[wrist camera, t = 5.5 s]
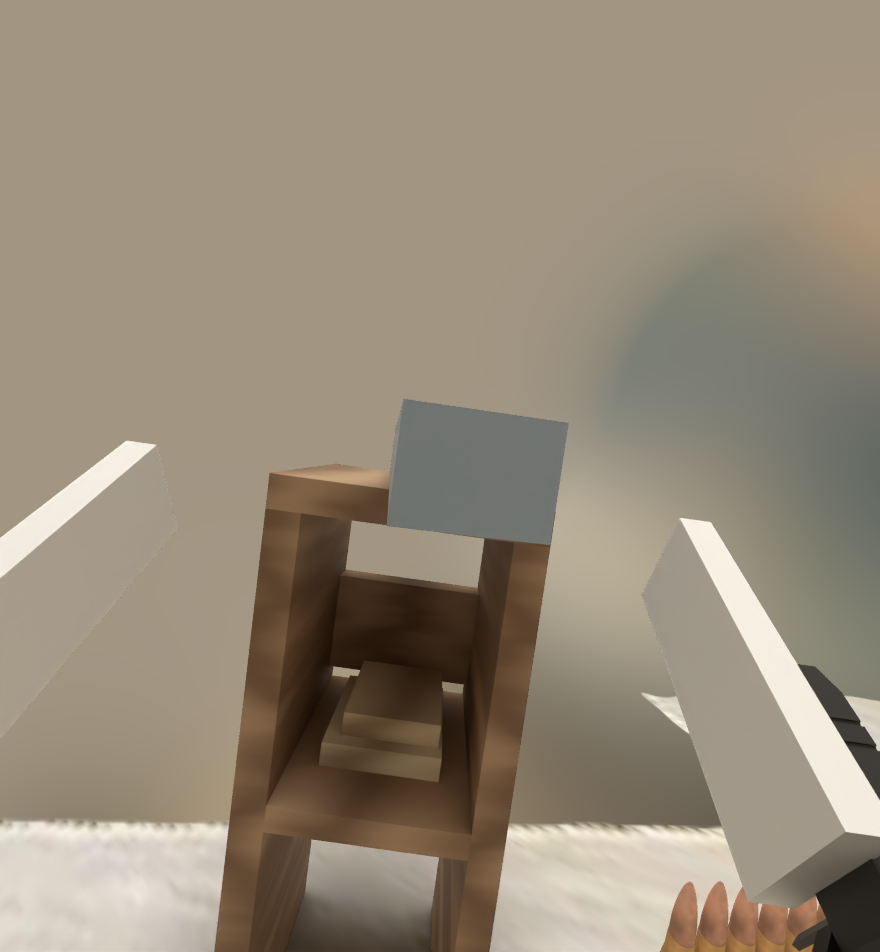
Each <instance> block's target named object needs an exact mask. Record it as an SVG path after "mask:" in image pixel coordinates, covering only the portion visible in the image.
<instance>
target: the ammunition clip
mask: <svg viewBox="0 0 880 952" xmlns="http://www.w3.org/2000/svg"><path fill="white" fill-rule="evenodd" d="M697 916H698V914H697V899H696V893H695V889H694V886H693V884H692V883H691V882H688V883H686V884H685V885H684V887H683V888H682V889H681V891H680V893H679V895H678V897H677V899H676V902H675V905H674V908H673V911H672V914H671V919H670V924H669V927H668V930H667V935H666V939H665V942H664V944H663V946H662V949H661V951H660V952H812V949H813V945H814V944H812V945H810V946H809V947H807V948H805V949H803V950H801V951H798V950H797V949H796V948H795V947H794V946H793V945H792V943H793V942H794V940H795V938H796V937H797V935H798V934H799V933H801V932H803V931H805V930H806V929H808V928H810V927H812V926H814V925H815V924H817V923H819V922H821V921H822V920H824V919H826V917H825V915H824V913H823V910H822V908H821V906H820V904H819V907H818V911H817V902H816V896H815V897H813V898H811V899H810V900H808V901H807V902H805V903H803V904H802V905H800V906H799V907H797V908H796V909H794V908H790V910H789V915H788V908H787V907H780V906H774V905H767V904H763V905H762V908H761V912H760V916H759V921H758V903H754V902H748V900H747V897H746V894H745V891H744V888H743V887H742V889H741V890H740V892H739V894H738V896H737V898H736V900H735V903H734V906H733V909H732V912H731V917H730V922H729V924H728V902H727V895H726V890H725V887H724V884H723V883H722V882H721V881H720V882H718V883H716V884H715V885H714V887H713V888H712V890H711V891H710V893H709V895H708V897H707V899H706V902H705V905H704V908H703V911H702V915H701V920H700V925H699V927H698V930H697ZM787 917H788V920H787ZM696 931H697V935H696ZM695 938H696V939H695Z"/></svg>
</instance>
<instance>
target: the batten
mask: <svg viewBox="0 0 880 952" xmlns="http://www.w3.org/2000/svg"><path fill="white" fill-rule="evenodd" d="M567 430H568V423H565V422H558V421H551V420H544V419H537V418H531V417H523V416H517V415H510V414H503V413H497V412H489V411H483V410H476V409H469V408H462V407H456V406H449V405H442V404H435V403H428V402H420V401H414V400H408V399H403V403H402V406H401V410H400V414H399V418H398V421H397V425H396V429H395V438H394V445H393V453H392V460H391V468H390V484H389V500H388V517H387V526H391V527H399V528H408V529H416V530H425V531H433V532H442V533H451V534H459V535H468V536H476V537H485V538H493V539H502V540H510V541H519V542H528V543H536V544H545V545H550V543H551V536H552V529H553V523H554V516H555V510H556V503H557V496H558V490H559V483H560V476H561V470H562V463H563V456H564V450H565V443H566V437H567Z"/></svg>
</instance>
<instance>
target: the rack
mask: <svg viewBox="0 0 880 952" xmlns="http://www.w3.org/2000/svg"><path fill="white" fill-rule="evenodd" d="M389 484H390V471H384V470H377V469H369V468H362V467H355V466H347V465H340V464H332V465H325V466H317V467H310V468H303V469H296V470H288V471H281V472H273V473H270V475H269V484H268V493H267V501H266V510H265V518H264V528H263V536H262V544H261V553H260V562H259V571H258V580H257V588H256V596H255V605H254V614H253V622H252V631H251V640H250V649H249V657H248V666H247V675H246V683H245V692H244V701H243V709H242V718H241V726H240V735H239V744H238V753H237V761H236V770H235V779H234V787H233V796H232V805H231V813H230V822H229V830H228V839H227V848H226V856H225V865H224V874H223V882H222V891H221V900H220V908H219V917H218V926H217V934H216V943H215V952H285V951H286V948H287V944H288V941H289V938H290V935H291V932H292V929H293V926H294V923H295V920H296V916H297V913H298V910H299V907H300V904H301V901H302V898H303V895H304V892H305V886H306V878H307V871H308V863H309V855H310V847H311V839H314V840H321V841H328V842H335V843H342V844H349V845H356V846H363V847H370V848H377V849H384V850H391V851H398V852H405V853H413V854H420V855H427V856H434V857H439V862H438V869H437V876H436V883H435V890H434V897H433V904H432V922H431V952H489V949H490V943H491V936H492V930H493V923H494V916H495V910H496V903H497V896H498V890H499V883H500V877H501V870H502V863H503V857H504V850H505V843H506V837H507V830H508V824H509V817H510V809H511V804H512V797H513V790H514V784H515V776H516V770H517V764H518V757H519V750H520V744H521V737H522V731H523V724H524V717H525V711H526V703H527V698H528V691H529V684H530V677H531V671H532V664H533V657H534V651H535V645H536V638H537V631H538V625H539V618H540V612H541V605H542V598H543V591H544V585H545V578H546V572H547V565H548V558H549V551H550V545H551V543H550V545H545V544H536V543H528V542H519V541H510V540H502V539H493V538H485V537H477V538H484V539H485V540H484V547H483V554H482V562H481V568H480V576H479V582H478V588H474V587H467V586H460V585H452V584H445V583H437V582H431V581H424V580H416V579H409V578H402V577H395V576H387V575H380V574H373V573H365V572H358V571H351V570H345V569H346V561H347V553H348V545H349V537H350V529H351V521H352V520H354V521H360V522H368V523H375V524H382V525H387V517H388V500H389ZM554 519H555V516H554ZM553 525H554V523H553ZM552 532H553V529H552ZM441 533H442V532H441ZM448 534H451V533H448ZM455 535H459V534H455ZM463 536H468V535H463ZM470 537H476V536H470ZM551 539H552V536H551ZM333 666H335V667H342V668H350V669H357V670H360V673H359V675H358V676H350V677H349V678H346V677H339V676H332V672H333ZM442 681H443V682H450V683H457V684H464V687H463V694H461V693H453V692H447V691H443V688H442Z"/></svg>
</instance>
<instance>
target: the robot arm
mask: <svg viewBox="0 0 880 952" xmlns="http://www.w3.org/2000/svg"><path fill="white" fill-rule="evenodd" d="M177 530H178V526H177V523H176V519H175V515H174V511H173V508H172V504H171V499H170V495H169V492H168V487H167V484H166V480H165V476H164V472H163V468H162V464H161V460H160V456H159V453H158V449H157V445H152V444H146V443H138V442H131V441H126V442H124V443H123V444H122V445H121V446H119V447H118V448H117V449H115V450H114V451H113V452H111V453H110V454H109V455H108V456H106V457H105V458H104V459H102V460H101V461H100V462H98V463H97V464H96V465H95V466H93V467H92V468H91V469H89V470H88V471H87V472H85V473H84V474H83V475H82V476H80V477H79V478H78V479H76V480H75V481H74V482H72V483H71V484H70V485H69V486H67V487H66V488H65V489H63V490H62V491H61V492H59V493H58V494H57V495H56V496H54V497H53V498H52V499H51V500H49V501H48V502H46V503H45V504H44V505H43V506H41V507H40V508H39V509H37V510H36V511H35V512H33V513H32V514H31V515H30V516H28V517H27V518H26V519H25V520H23V521H22V522H20V523H19V524H18V525H17V526H16V527H14V528H13V529H11V530H10V531H9V532H8V533H6V534H5V535H4V536H2V537H1V538H0V739H1V737H2V736H3V735H4V734H5V733H6V732H7V730H8V729H9V728H10V727H11V726H12V724H13V723H14V722H15V721H16V720H17V719H18V717H19V716H20V715H21V714H22V713H23V712H24V710H25V709H26V708H27V707H28V706H29V704H30V703H31V702H32V701H33V700H34V699H35V697H36V696H37V695H38V694H39V693H40V692H41V690H42V689H43V688H44V687H45V686H46V684H47V683H48V682H49V681H50V680H51V679H52V677H53V676H54V675H55V674H56V672H58V670H59V669H60V668H61V667H62V666H63V664H64V663H65V662H66V661H67V659H69V657H70V656H71V655H72V654H73V653H74V651H75V650H76V649H77V648H78V647H79V645H80V644H81V643H82V642H83V641H84V640H85V639H86V637H87V636H88V635H89V633H91V631H92V630H93V629H94V628H95V627H96V626H97V624H98V623H99V622H100V621H101V620H102V618H103V617H104V616H105V615H106V614H107V613H108V611H109V610H110V609H111V608H112V607H113V605H114V604H115V603H116V602H117V601H118V599H119V598H120V597H121V596H122V595H123V594H124V592H125V591H126V590H127V589H128V588H129V587H130V585H131V584H132V583H133V582H134V581H135V579H136V578H137V577H138V576H139V575H140V574H141V572H142V571H143V570H144V569H145V567H146V566H147V565H148V564H149V563H150V562H151V561H152V559H153V558H154V557H155V556H156V555H157V554H158V552H159V551H160V550H161V549H162V548H163V546H164V545H165V544H166V543H167V542H168V540H169V539H170V538H171V537H172V536H173V535H174V533H175V532H176V531H177ZM642 597H643V600H644V603H645V606H646V609H647V612H648V615H649V618H650V620H651V623H652V626H653V629H654V632H655V635H656V638H657V641H658V643H659V646H660V649H661V652H662V655H663V658H664V660H665V664H666V667H667V669H668V672H669V675H670V678H671V681H672V684H673V687H674V690H675V692H676V695H677V698H678V701H679V704H680V707H681V710H682V713H683V715H684V718H685V721H686V724H687V727H688V730H689V733H690V736H691V738H692V741H693V744H694V747H695V750H696V753H697V756H698V759H699V762H700V764H701V767H702V770H703V773H704V776H705V779H706V781H707V784H708V787H709V790H710V793H711V796H712V799H713V801H714V805H715V808H716V810H717V813H718V816H719V819H720V822H721V825H722V828H723V831H724V833H725V836H726V839H727V842H728V845H729V848H730V851H731V854H732V856H733V859H734V862H735V865H736V868H737V871H738V874H739V877H740V880H741V882H742V885H743V888H744V891H745V894H746V897H747V900H748V902H754V903H760V904H767V905H774V906H780V907H787V908H794V909H796V908H797V907H799V906H800V905H802V904H803V903H805V902H807V901H808V900H810V899H811V898H813V897H815V896H816V897H817V899H818V901H819V904H820V906H821V908H822V910H823V913H824V915H825V917H826V919H824V920H822V921H821V922H819V923H817V924H815V925H814V926H812V927H810V928H808V929H806V930H805V931H803V932H801V933H799V934H798V935H797V937H796V938H795V940H794V942H793V943H792V945H793V946H794V947H795V948H796V949H797V950H798V951H801V950H803V949H805V948H807V947H809V946H810V945H812V944H814V945H813V949H812V952H880V751H877V750H876V744H875V742H874V741H873V739H872V738H871V736H870V735H869V733H868V732H867V730H866V729H865V727H862V726H861V725H860V720H859V718H858V716H857V715H856V713H855V712H854V710H853V709H852V707H851V706H850V704H849V703H848V701H847V700H846V698H845V697H844V695H843V694H842V692H841V691H840V690H839V689H838V688H837V687H835V686H834V685H833V684H832V683H831V682H830V681H829V680H828V679H827V678H826V677H825V676H824V675H823V674H822V673H821V672H820V671H819V670H818V669H817V668H816V667H813V666H806V665H800V664H797V663H796V662H795V660H794V658H793V657H792V655H791V654H790V652H789V650H788V649H787V647H786V645H785V644H784V642H783V641H782V639H781V637H780V635H779V634H778V632H777V630H776V629H775V627H774V626H773V624H772V622H771V621H770V619H769V617H768V616H767V614H766V612H765V611H764V609H763V607H762V606H761V604H760V603H759V601H758V599H757V598H756V596H755V594H754V593H753V591H752V589H751V588H750V586H749V584H748V583H747V581H746V580H745V578H744V576H743V575H742V573H741V571H740V570H739V568H738V566H737V565H736V563H735V561H734V560H733V558H732V557H731V555H730V553H729V552H728V550H727V548H726V547H725V545H724V543H723V542H722V540H721V538H720V537H719V535H718V533H717V532H716V530H715V529H714V527H713V525H712V524H711V522H705V521H698V520H691V519H684V518H679V520H678V522H677V524H676V526H675V528H674V531H673V533H672V534H671V536H670V538H669V540H668V542H667V544H666V547H665V548H664V551H663V553H662V555H661V557H660V559H659V561H658V563H657V565H656V567H655V569H654V571H653V573H652V575H651V577H650V579H649V581H648V583H647V585H646V587H645V589H644V591H643V593H642Z"/></svg>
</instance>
